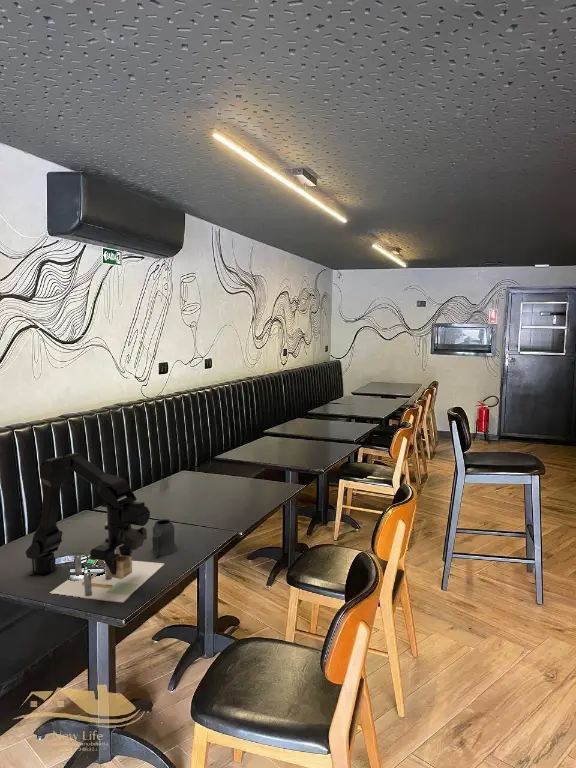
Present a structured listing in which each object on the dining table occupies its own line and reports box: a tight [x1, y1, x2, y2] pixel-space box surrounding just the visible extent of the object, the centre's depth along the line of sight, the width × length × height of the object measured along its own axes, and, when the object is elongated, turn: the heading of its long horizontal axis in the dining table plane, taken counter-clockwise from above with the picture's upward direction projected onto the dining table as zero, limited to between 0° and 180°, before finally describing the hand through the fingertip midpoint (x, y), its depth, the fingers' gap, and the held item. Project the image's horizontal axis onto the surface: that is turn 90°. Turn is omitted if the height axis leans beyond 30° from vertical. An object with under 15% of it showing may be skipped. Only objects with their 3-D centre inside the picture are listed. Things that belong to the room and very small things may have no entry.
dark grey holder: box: [151, 518, 178, 557], centre depth 195 cm, size 12×9×11 cm
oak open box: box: [108, 554, 133, 579], centre depth 168 cm, size 5×5×5 cm
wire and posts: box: [73, 554, 113, 596], centre depth 174 cm, size 10×18×6 cm, turn 31°
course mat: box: [49, 560, 165, 604], centre depth 177 cm, size 25×26×1 cm
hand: (120, 570), depth 168 cm, fingers closed on oak open box, 5 cm apart
